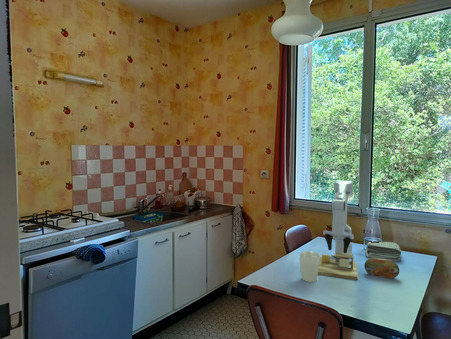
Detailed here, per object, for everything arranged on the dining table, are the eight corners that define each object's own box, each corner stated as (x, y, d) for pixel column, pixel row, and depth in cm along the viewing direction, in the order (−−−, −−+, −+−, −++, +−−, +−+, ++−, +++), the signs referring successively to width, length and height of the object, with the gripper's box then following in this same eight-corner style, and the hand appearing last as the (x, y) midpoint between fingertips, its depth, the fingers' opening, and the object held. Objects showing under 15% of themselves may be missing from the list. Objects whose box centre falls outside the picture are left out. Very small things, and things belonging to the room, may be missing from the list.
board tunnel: (319, 259, 171) (319, 246, 170) (356, 264, 164) (356, 250, 163) (315, 273, 150) (315, 258, 150) (357, 280, 143) (358, 264, 143)
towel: (401, 262, 168) (402, 248, 167) (365, 257, 175) (365, 244, 175) (399, 254, 182) (399, 241, 181) (365, 250, 189) (365, 237, 189)
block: (339, 263, 159) (339, 255, 159) (348, 264, 158) (348, 256, 157) (339, 265, 155) (339, 258, 155) (348, 267, 154) (349, 259, 154)
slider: (322, 261, 164) (322, 254, 163) (350, 264, 158) (350, 257, 158) (321, 264, 158) (321, 257, 158) (350, 268, 153) (350, 261, 153)
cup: (308, 284, 138) (309, 258, 137) (295, 277, 146) (295, 252, 145) (323, 281, 142) (324, 255, 141) (309, 274, 150) (310, 250, 149)
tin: (364, 274, 151) (364, 257, 150) (364, 272, 153) (364, 255, 153) (399, 280, 144) (399, 262, 143) (398, 278, 146) (399, 260, 146)
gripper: (321, 222, 154) (319, 249, 153) (350, 226, 144) (349, 255, 143) (327, 221, 159) (326, 248, 158) (355, 225, 149) (354, 253, 148)
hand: (337, 251), depth 151 cm, fingers open, 7 cm apart
